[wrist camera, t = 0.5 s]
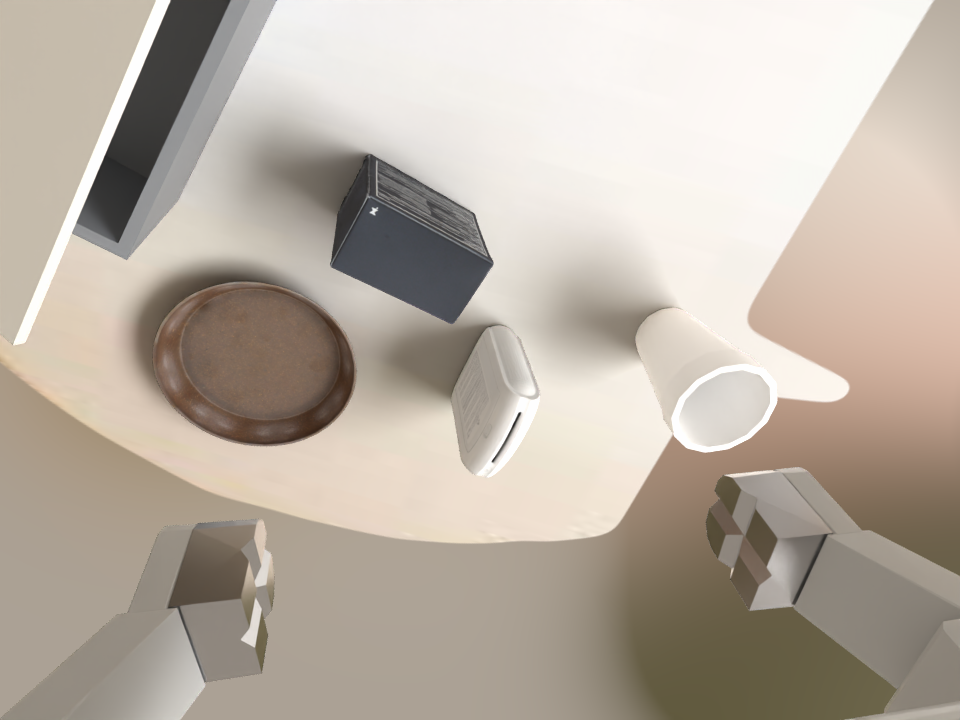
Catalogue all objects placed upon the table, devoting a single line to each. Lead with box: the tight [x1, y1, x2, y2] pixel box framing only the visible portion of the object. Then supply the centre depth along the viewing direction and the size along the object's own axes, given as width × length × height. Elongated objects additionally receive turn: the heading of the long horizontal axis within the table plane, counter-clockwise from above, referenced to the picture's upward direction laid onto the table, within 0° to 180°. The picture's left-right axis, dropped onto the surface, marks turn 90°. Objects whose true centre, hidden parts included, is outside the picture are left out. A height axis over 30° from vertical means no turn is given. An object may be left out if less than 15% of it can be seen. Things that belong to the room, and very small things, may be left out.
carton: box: [72, 0, 276, 260], centre depth 36 cm, size 20×20×12 cm
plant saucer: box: [153, 282, 357, 446], centre depth 57 cm, size 18×18×3 cm
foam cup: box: [635, 307, 777, 452], centre depth 57 cm, size 10×9×13 cm
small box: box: [330, 154, 494, 324], centre depth 48 cm, size 11×6×10 cm, turn 58°
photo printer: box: [451, 325, 540, 477], centre depth 57 cm, size 10×4×12 cm, turn 156°
